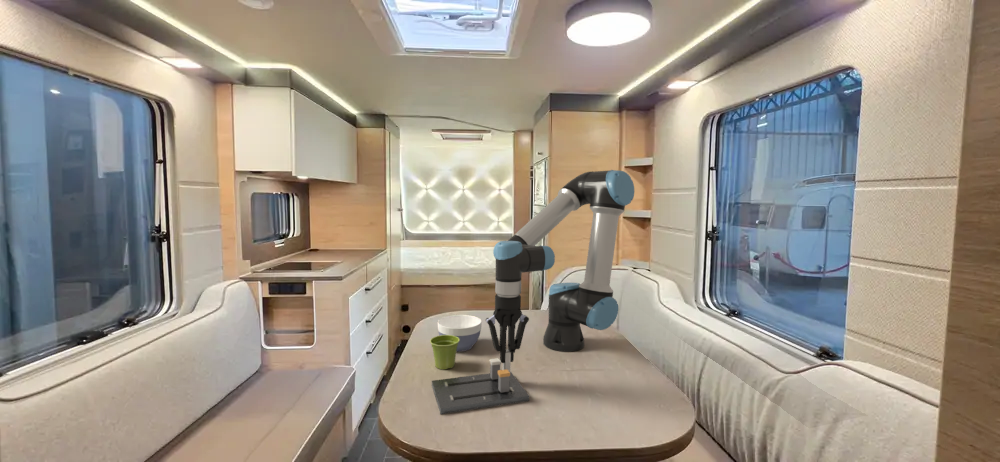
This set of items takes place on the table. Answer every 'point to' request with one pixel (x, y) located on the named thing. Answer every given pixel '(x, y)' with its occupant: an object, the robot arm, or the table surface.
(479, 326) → the bowl
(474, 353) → the table surface
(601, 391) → the table surface
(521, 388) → the console
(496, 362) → the fader white
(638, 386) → the table surface
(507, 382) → the fader orange
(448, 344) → the plant pot
